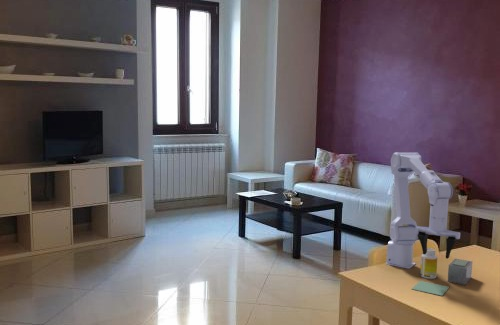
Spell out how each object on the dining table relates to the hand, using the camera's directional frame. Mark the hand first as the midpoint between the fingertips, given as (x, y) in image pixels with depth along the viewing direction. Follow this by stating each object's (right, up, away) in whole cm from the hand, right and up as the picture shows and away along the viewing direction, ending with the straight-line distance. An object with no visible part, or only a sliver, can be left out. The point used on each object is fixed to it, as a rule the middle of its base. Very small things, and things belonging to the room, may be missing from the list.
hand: (435, 255), depth 175 cm
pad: (-3, -11, -3) cm, 11 cm away
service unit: (+11, -10, +7) cm, 16 cm away
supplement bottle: (+1, -10, +9) cm, 13 cm away
